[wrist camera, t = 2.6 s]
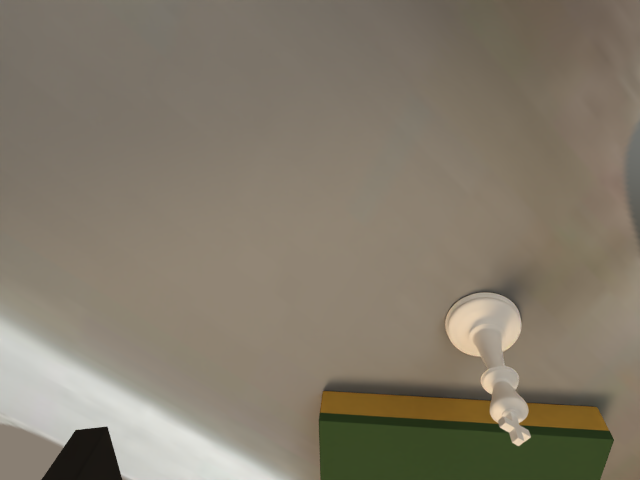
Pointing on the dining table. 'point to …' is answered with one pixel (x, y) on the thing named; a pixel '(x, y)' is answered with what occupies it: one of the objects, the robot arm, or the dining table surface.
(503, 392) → the chess piece
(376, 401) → the sponge pad
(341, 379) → the dining table surface
